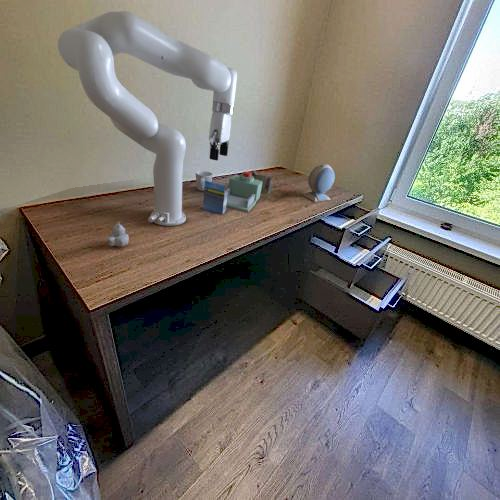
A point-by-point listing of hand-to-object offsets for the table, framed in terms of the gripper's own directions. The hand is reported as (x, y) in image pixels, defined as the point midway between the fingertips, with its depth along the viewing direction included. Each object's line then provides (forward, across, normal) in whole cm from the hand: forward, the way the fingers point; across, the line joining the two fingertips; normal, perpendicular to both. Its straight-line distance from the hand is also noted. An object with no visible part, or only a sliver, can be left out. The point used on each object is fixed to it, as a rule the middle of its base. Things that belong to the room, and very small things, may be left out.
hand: (218, 157), depth 107 cm
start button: (+11, -21, +7) cm, 25 cm away
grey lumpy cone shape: (+22, +44, -12) cm, 50 cm away
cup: (+21, -15, -12) cm, 29 cm away
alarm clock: (+21, -45, +40) cm, 64 cm away
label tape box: (+21, +3, +1) cm, 21 cm away
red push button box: (+21, -21, +7) cm, 30 cm away
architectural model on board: (+21, -35, +11) cm, 42 cm away
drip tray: (+21, -10, +6) cm, 24 cm away
